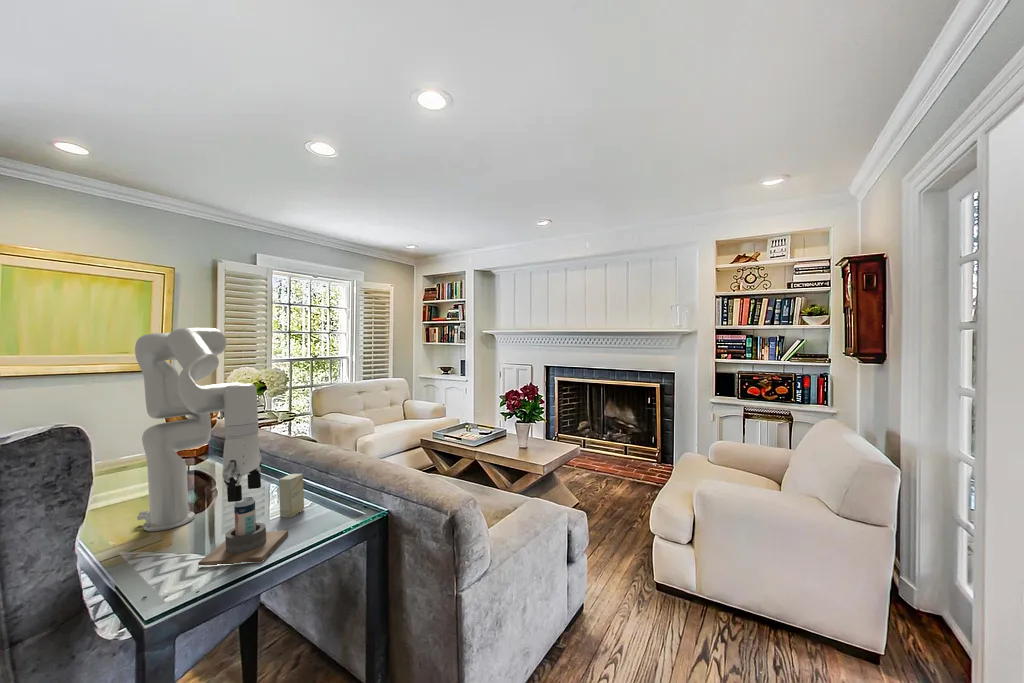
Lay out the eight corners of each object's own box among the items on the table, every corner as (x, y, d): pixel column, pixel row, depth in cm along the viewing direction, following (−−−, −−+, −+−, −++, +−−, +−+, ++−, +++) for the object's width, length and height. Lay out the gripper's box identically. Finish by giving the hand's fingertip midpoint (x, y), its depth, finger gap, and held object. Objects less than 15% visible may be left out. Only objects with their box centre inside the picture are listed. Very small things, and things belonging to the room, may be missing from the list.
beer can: (242, 540, 114) (240, 496, 114) (260, 539, 115) (258, 495, 115) (231, 549, 110) (229, 503, 110) (250, 548, 110) (248, 502, 110)
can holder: (198, 568, 104) (197, 546, 104) (232, 539, 118) (231, 520, 118) (262, 562, 105) (261, 540, 105) (288, 535, 120) (287, 516, 120)
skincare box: (291, 518, 132) (289, 479, 132) (279, 517, 133) (277, 479, 133) (305, 510, 138) (303, 473, 138) (293, 509, 139) (291, 473, 139)
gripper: (244, 425, 120) (247, 485, 120) (206, 438, 103) (210, 508, 103) (272, 423, 121) (275, 482, 121) (239, 436, 103) (242, 505, 103)
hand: (245, 494), depth 112 cm, fingers open, 9 cm apart
